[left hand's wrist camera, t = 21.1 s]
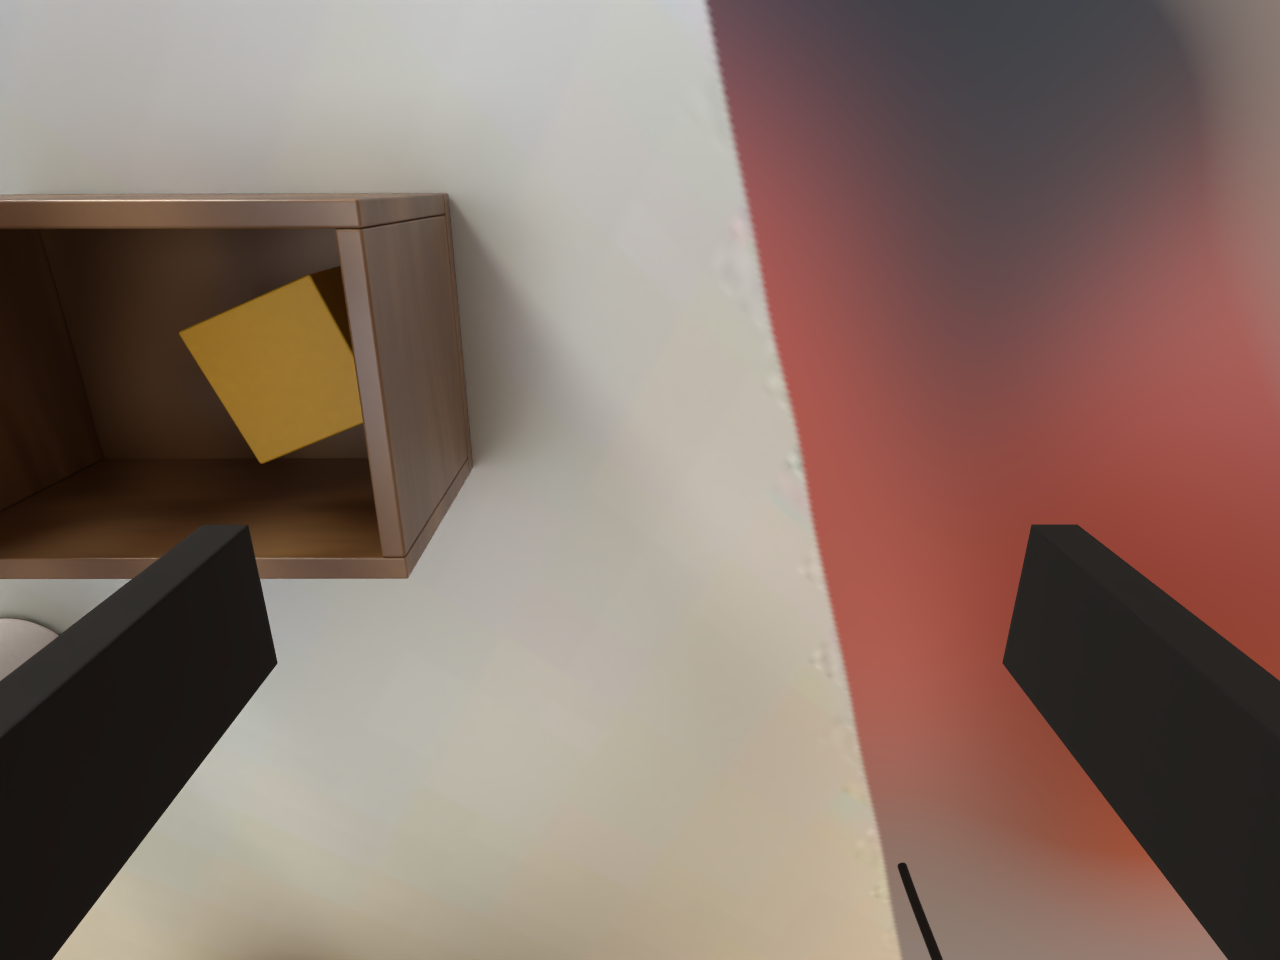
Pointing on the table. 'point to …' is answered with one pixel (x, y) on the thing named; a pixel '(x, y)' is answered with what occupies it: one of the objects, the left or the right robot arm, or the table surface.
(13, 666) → the coffee cup
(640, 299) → the table surface
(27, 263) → the chest
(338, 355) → the block
